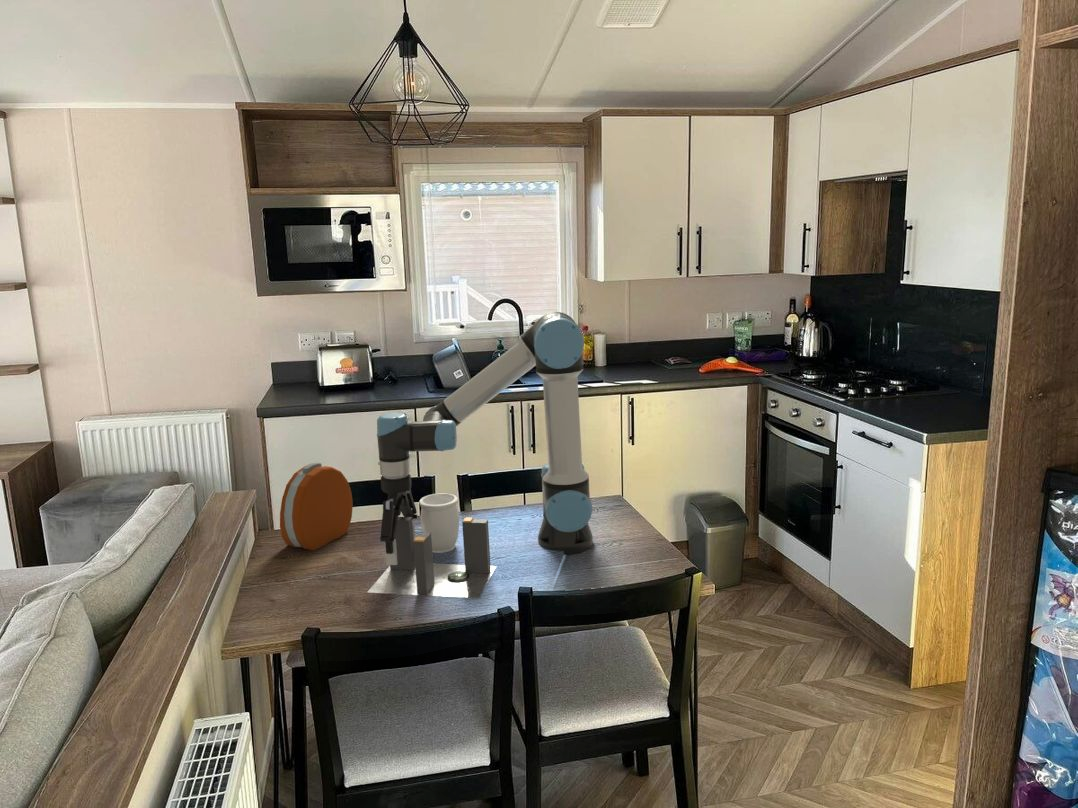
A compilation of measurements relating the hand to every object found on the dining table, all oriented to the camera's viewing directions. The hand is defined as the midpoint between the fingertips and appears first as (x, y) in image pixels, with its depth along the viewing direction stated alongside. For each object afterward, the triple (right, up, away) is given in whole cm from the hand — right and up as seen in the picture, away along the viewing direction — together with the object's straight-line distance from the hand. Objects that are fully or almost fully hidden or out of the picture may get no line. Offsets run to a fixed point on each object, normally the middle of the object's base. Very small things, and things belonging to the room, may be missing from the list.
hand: (401, 553), depth 210 cm
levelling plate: (+9, -6, -6) cm, 13 cm away
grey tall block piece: (+20, -4, -3) cm, 21 cm away
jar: (+9, -2, +14) cm, 17 cm away
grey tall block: (0, -4, +1) cm, 4 cm away
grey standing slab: (+8, -7, -12) cm, 16 cm away
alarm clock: (-29, -1, +26) cm, 39 cm away
